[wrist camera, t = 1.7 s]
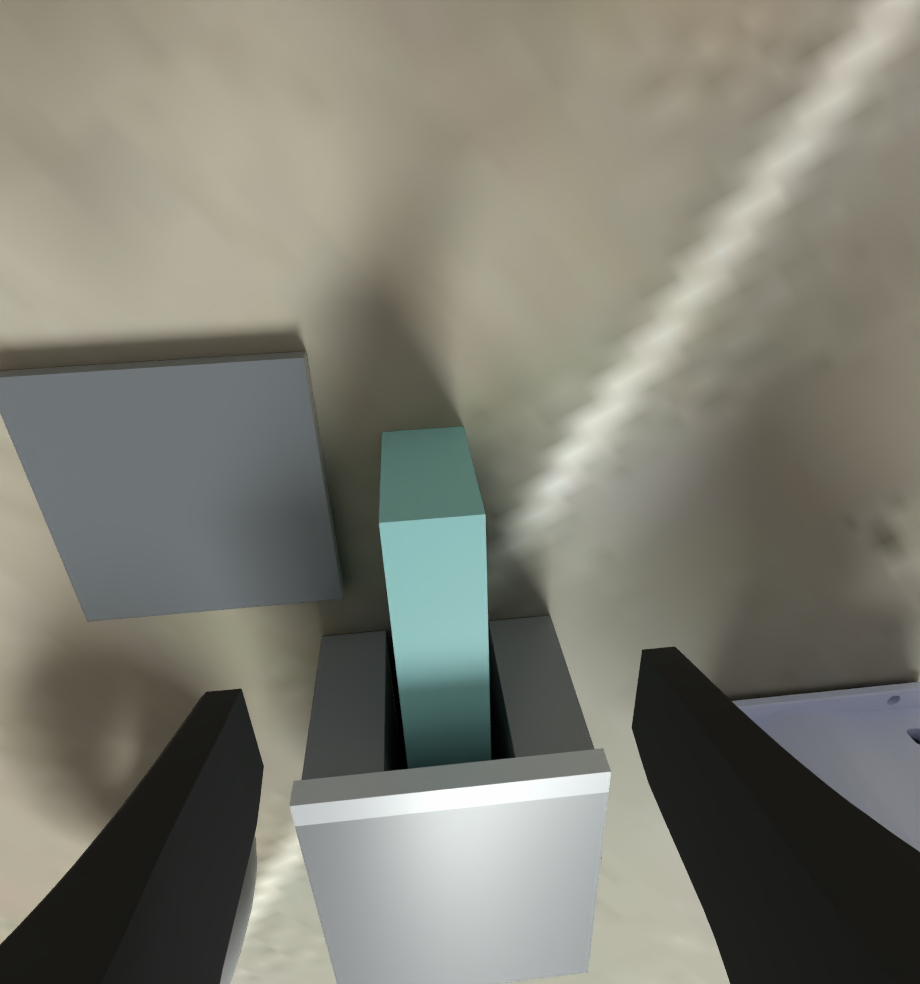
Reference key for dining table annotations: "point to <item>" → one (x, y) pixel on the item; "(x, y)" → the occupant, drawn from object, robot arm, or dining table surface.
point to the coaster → (179, 481)
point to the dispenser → (453, 823)
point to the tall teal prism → (437, 593)
